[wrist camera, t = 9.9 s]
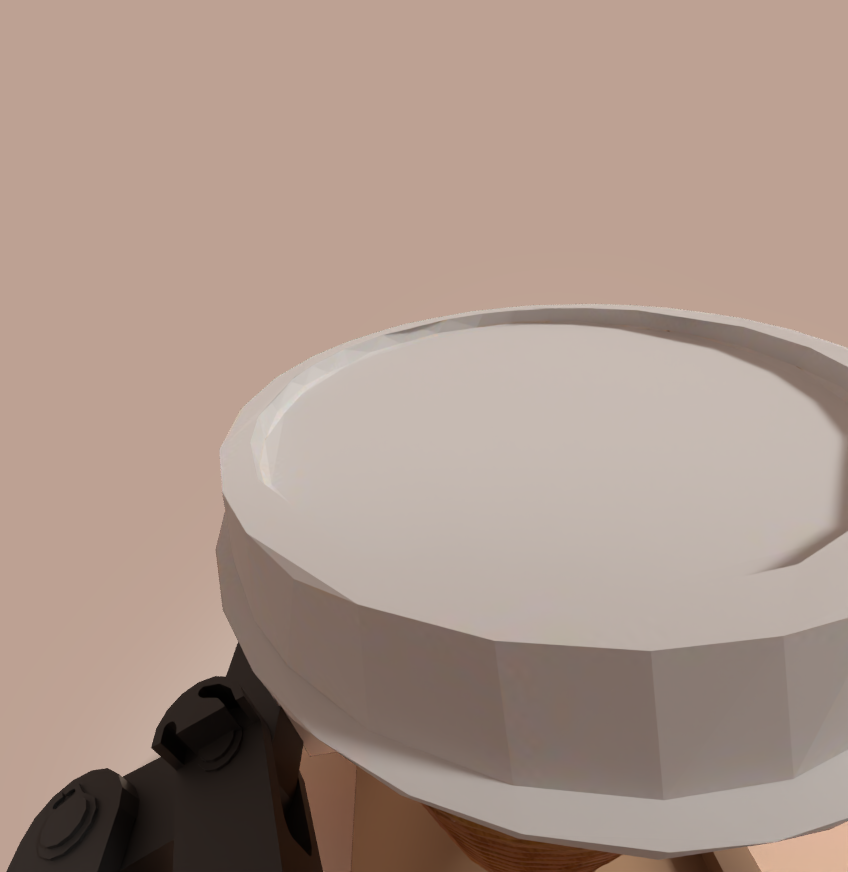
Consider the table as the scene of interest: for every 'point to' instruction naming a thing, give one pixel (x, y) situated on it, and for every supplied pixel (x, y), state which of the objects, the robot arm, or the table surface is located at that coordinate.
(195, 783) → the robot arm
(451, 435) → the disposable coffee cup
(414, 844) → the peg shelf
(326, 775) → the table surface
